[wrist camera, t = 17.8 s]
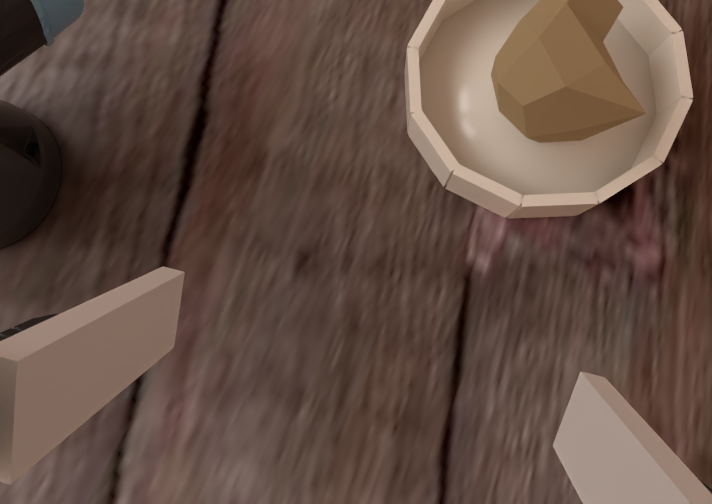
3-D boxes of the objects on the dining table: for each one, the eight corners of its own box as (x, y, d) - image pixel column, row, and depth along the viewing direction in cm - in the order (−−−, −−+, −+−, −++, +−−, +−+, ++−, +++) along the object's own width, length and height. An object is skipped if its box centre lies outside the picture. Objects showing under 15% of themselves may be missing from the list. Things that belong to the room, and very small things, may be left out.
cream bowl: (362, 147, 44) (360, 128, 39) (472, -50, 46) (482, -88, 42) (594, 262, 41) (620, 255, 37) (697, 45, 44) (733, 14, 39)
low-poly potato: (538, 194, 41) (681, 133, 36) (501, 139, 33) (681, 49, 28) (491, 76, 48) (606, 10, 43) (450, 4, 39) (588, -90, 34)
